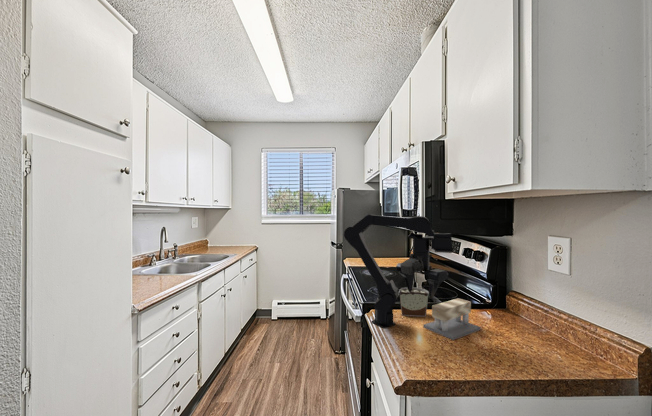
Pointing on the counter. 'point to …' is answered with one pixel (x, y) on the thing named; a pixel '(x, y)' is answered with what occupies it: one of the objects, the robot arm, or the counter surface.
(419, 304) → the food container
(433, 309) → the beige marbled block
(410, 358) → the counter surface
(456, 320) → the peg stand
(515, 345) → the counter surface
